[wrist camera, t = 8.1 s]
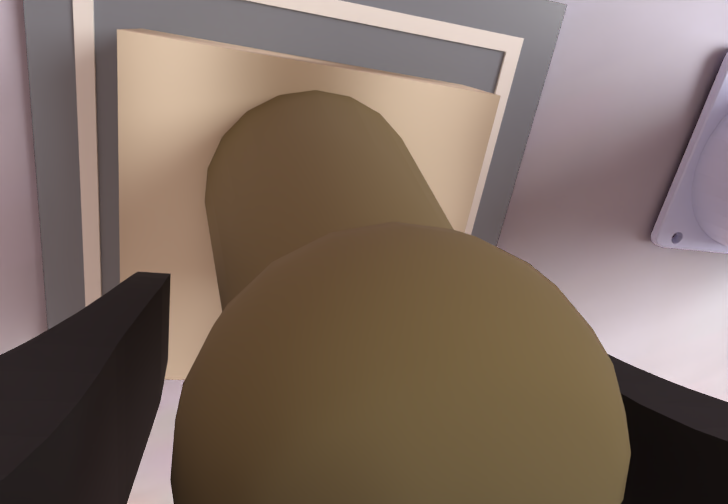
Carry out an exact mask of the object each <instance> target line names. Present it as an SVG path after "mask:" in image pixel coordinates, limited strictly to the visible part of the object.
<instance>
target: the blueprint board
mask: <svg viewBox="0 0 728 504" xmlns="http://www.w3.org/2000/svg"><path fill="white" fill-rule="evenodd" d="M23 7H24V20H25V34H26V47H27V60H28V73H29V87H30V100H31V113H32V126H33V140H34V153H35V166H36V179H37V193H38V206H39V219H40V233H41V246H42V259H43V272H44V286H45V299H46V312H47V325H48V330H49V329H50V328H52V327H54V326H55V325H57V324H59V323H60V322H62V321H64V320H65V319H67V318H69V317H71V316H72V315H74V314H76V313H77V312H79V311H80V310H82V309H83V308H85V307H86V306H88V305H89V304H91V303H92V302H94V301H95V300H97V299H98V298H100V297H101V296H103V295H104V294H106V293H107V292H109V291H110V290H111V289H113V288H114V287H116V286H117V285H119V284H120V242H119V160H118V77H117V29H141V28H142V29H148V30H154V31H159V32H165V33H171V34H176V35H182V36H188V37H194V38H199V39H205V40H211V41H216V42H222V43H228V44H233V45H239V46H245V47H251V48H256V49H262V50H268V51H273V52H279V53H285V54H290V55H296V56H302V57H308V58H313V59H319V60H325V61H330V62H336V63H342V64H348V65H353V66H359V67H365V68H370V69H376V70H382V71H387V72H393V73H399V74H405V75H410V76H416V77H422V78H427V79H433V80H439V81H444V82H450V83H456V84H462V85H465V86H468V87H472V88H475V89H479V90H482V91H486V92H489V93H493V94H496V95H500V96H501V97H500V100H499V104H498V108H497V112H496V115H495V119H494V123H493V127H492V131H491V134H490V138H489V142H488V146H487V150H486V153H485V157H484V161H483V165H482V168H481V172H480V176H479V180H478V184H477V187H476V191H475V195H474V199H473V202H472V206H471V210H470V214H469V218H468V221H467V225H466V229H465V233H466V234H470V235H473V236H476V237H478V238H480V239H482V240H484V241H486V242H488V243H490V244H492V245H494V246H497V243H498V239H499V236H500V232H501V229H502V225H503V222H504V219H505V215H506V212H507V208H508V205H509V202H510V198H511V195H512V191H513V188H514V185H515V181H516V178H517V174H518V171H519V168H520V164H521V161H522V157H523V154H524V150H525V147H526V144H527V140H528V137H529V133H530V130H531V127H532V123H533V120H534V116H535V113H536V110H537V106H538V103H539V99H540V96H541V92H542V89H543V86H544V82H545V79H546V75H547V72H548V69H549V65H550V62H551V58H552V55H553V52H554V48H555V45H556V41H557V38H558V34H559V31H560V28H561V24H562V21H563V17H564V14H565V11H566V7H567V5H566V4H562V3H558V2H553V1H549V0H23Z"/></svg>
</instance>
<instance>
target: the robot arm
mask: <svg viewBox="0 0 728 504" xmlns="http://www.w3.org/2000/svg"><path fill="white" fill-rule="evenodd" d="M674 234H675V236H674V237H673V238H672V236H673V235H674ZM651 241H652V242H653V243H654V244H656V245H657V246H660V247H664V248H674V249H684V250H694V251H704V252H715V253H725V254H728V52H727V54H726V55H725V57H724V59H723V62H722V64H721V67H720V69H719V71H718V74H717V76H716V79H715V81H714V84H713V86H712V88H711V91H710V93H709V96H708V98H707V100H706V103H705V105H704V108H703V110H702V113H701V115H700V117H699V120H698V122H697V125H696V127H695V129H694V132H693V134H692V137H691V139H690V141H689V144H688V146H687V149H686V151H685V154H684V156H683V158H682V161H681V163H680V166H679V168H678V170H677V173H676V175H675V178H674V180H673V182H672V185H671V187H670V190H669V192H668V195H667V197H666V199H665V202H664V204H663V207H662V209H661V211H660V214H659V216H658V219H657V221H656V223H655V226H654V228H653V231H652V233H651ZM170 278H171V274H169V273H153V272H136V273H134V274H133V275H131V276H130V277H128V278H127V279H126V280H124V281H123V282H121V283H120V284H119V285H117V286H116V287H114V288H113V289H111V290H110V291H109V292H107V293H106V294H104V295H103V296H101V297H100V298H98V299H97V300H95V301H94V302H92V303H91V304H89V305H88V306H86V307H85V308H83V309H82V310H80V311H79V312H77V313H76V314H74V315H72V316H71V317H69V318H67V319H65V320H64V321H62V322H60V323H59V324H57V325H55V326H54V327H52V328H50V329H49V330H47V331H45V332H44V333H42V334H40V335H38V336H37V337H35V338H33V339H31V340H29V341H27V342H26V343H24V344H22V345H20V346H18V347H16V348H14V349H12V350H10V351H8V352H6V353H4V354H1V355H0V504H127V501H128V498H129V495H130V492H131V489H132V486H133V483H134V480H135V477H136V474H137V471H138V468H139V465H140V462H141V459H142V456H143V453H144V450H145V447H146V444H147V441H148V438H149V435H150V432H151V429H152V426H153V423H154V419H155V416H156V413H157V410H158V407H159V404H160V400H161V395H162V390H163V384H164V379H165V374H166V368H167V363H168V345H169V312H170ZM608 356H609V358H610V359H611V361H612V363H613V366H614V370H615V373H616V377H617V381H618V385H619V389H620V393H621V397H622V401H623V404H624V408H625V412H626V420H627V427H628V434H629V442H630V449H631V456H630V462H629V468H628V474H627V480H626V486H625V492H624V498H623V501H622V502H621V504H728V402H726V401H723V400H720V399H717V398H714V397H711V396H708V395H705V394H702V393H700V392H697V391H694V390H691V389H688V388H686V387H683V386H680V385H678V384H675V383H672V382H670V381H667V380H665V379H663V378H660V377H658V376H655V375H653V374H651V373H648V372H646V371H644V370H641V369H639V368H636V367H634V366H632V365H630V364H627V363H625V362H623V361H621V360H619V359H617V358H615V357H613V356H611V355H608Z"/></svg>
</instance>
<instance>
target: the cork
mask: <svg viewBox="0 0 728 504" xmlns="http://www.w3.org/2000/svg"><path fill="white" fill-rule="evenodd" d="M205 207H206V214H207V220H208V226H209V233H210V239H211V245H212V251H213V258H214V264H215V270H216V276H217V283H218V289H219V295H220V301H221V308H222V313H221V315H220V316H219V317H218V319H217V320H216V322H215V323H214V325H213V326H212V328H211V330H210V332H209V334H208V336H207V338H206V340H205V342H204V344H203V346H202V348H201V350H200V352H199V354H198V356H197V357H196V359H195V361H194V363H193V365H192V367H191V369H190V371H189V373H188V375H187V377H186V379H185V381H184V383H183V387H182V391H181V396H180V401H179V405H178V410H177V414H176V419H175V429H174V442H173V454H172V467H171V479H170V480H171V487H172V494H173V501H174V504H621V502H622V501H623V498H624V492H625V486H626V480H627V474H628V468H629V462H630V456H631V449H630V442H629V434H628V427H627V420H626V412H625V408H624V404H623V401H622V397H621V393H620V389H619V385H618V381H617V377H616V373H615V370H614V366H613V363H612V361H611V359H610V358H609V356H608V354H607V353H606V351H605V349H604V348H603V346H602V344H601V343H600V341H599V339H598V337H597V336H596V334H595V332H594V331H593V329H592V328H591V326H590V325H589V324H588V323H587V322H586V320H585V319H584V318H583V317H582V316H581V315H580V313H579V312H578V311H577V310H576V309H575V307H574V306H573V305H572V304H571V303H570V301H569V300H568V299H567V298H566V297H565V295H564V294H563V293H562V292H561V291H560V289H559V288H558V287H557V286H556V285H555V284H553V283H552V282H551V281H550V280H549V279H547V278H546V277H545V276H544V275H542V274H541V273H540V272H539V271H538V270H536V269H535V268H534V267H533V266H532V265H530V264H529V263H527V262H525V261H523V260H521V259H519V258H517V257H515V256H513V255H511V254H509V253H507V252H505V251H504V250H502V249H500V248H498V247H496V246H494V245H492V244H490V243H488V242H486V241H484V240H482V239H480V238H478V237H476V236H473V235H470V234H466V233H463V232H460V231H456V230H454V229H453V227H452V226H451V224H450V222H449V220H448V219H447V217H446V215H445V213H444V212H443V210H442V208H441V206H440V205H439V203H438V201H437V199H436V198H435V196H434V194H433V192H432V191H431V189H430V187H429V185H428V184H427V182H426V180H425V178H424V177H423V175H422V173H421V171H420V170H419V168H418V166H417V164H416V163H415V161H414V159H413V157H412V156H411V154H410V152H409V150H408V148H407V147H406V145H405V143H404V141H403V140H402V138H401V137H400V136H399V135H398V134H397V132H396V131H395V130H394V129H393V128H392V127H391V126H390V124H389V123H388V122H387V121H386V120H385V119H384V118H383V116H382V115H381V114H380V113H378V112H376V111H375V110H373V109H371V108H369V107H368V106H366V105H364V104H362V103H361V102H359V101H357V100H355V99H354V98H352V97H350V96H344V95H339V94H334V93H329V92H324V91H319V90H311V91H304V92H297V93H290V94H282V95H278V96H276V97H274V98H272V99H270V100H268V101H266V102H264V103H262V104H260V105H259V106H257V107H255V108H253V109H251V110H249V111H247V112H246V113H245V114H244V115H243V116H242V117H241V118H240V119H239V120H238V121H237V122H236V123H235V124H234V125H233V126H232V127H231V128H230V129H229V130H228V131H227V132H226V133H225V134H224V136H223V137H222V138H221V140H220V143H219V145H218V147H217V149H216V151H215V153H214V156H213V158H212V160H211V162H210V164H209V166H208V170H207V181H206V192H205Z"/></svg>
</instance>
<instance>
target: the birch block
mask: <svg viewBox="0 0 728 504" xmlns="http://www.w3.org/2000/svg"><path fill="white" fill-rule="evenodd" d="M117 77H118V160H119V242H120V283H121V282H123V281H124V280H126V279H127V278H128V277H130V276H131V275H133V274H134V273H136V272H153V273H169V274H171V278H170V312H169V345H168V363H167V368H166V374H165V379H166V380H185V379H186V377H187V375H188V373H189V371H190V369H191V367H192V365H193V363H194V361H195V359H196V357H197V356H198V354H199V352H200V350H201V348H202V346H203V344H204V342H205V340H206V338H207V336H208V334H209V332H210V330H211V328H212V326H213V325H214V323H215V322H216V320H217V319H218V317H219V316H220V315H221V313H222V308H221V301H220V295H219V289H218V283H217V276H216V270H215V264H214V258H213V251H212V245H211V239H210V233H209V226H208V220H207V214H206V207H205V192H206V181H207V170H208V166H209V164H210V162H211V160H212V158H213V156H214V153H215V151H216V149H217V147H218V145H219V143H220V140H221V138H222V137H223V136H224V134H225V133H226V132H227V131H228V130H229V129H230V128H231V127H232V126H233V125H234V124H235V123H236V122H237V121H238V120H239V119H240V118H241V117H242V116H243V115H244V114H245V113H246V112H247V111H249V110H251V109H253V108H255V107H257V106H259V105H260V104H262V103H264V102H266V101H268V100H270V99H272V98H274V97H276V96H278V95H282V94H290V93H297V92H304V91H311V90H319V91H324V92H329V93H334V94H339V95H344V96H350V97H352V98H354V99H355V100H357V101H359V102H361V103H362V104H364V105H366V106H368V107H369V108H371V109H373V110H375V111H376V112H378V113H380V114H381V115H382V116H383V118H384V119H385V120H386V121H387V122H388V123H389V124H390V126H391V127H392V128H393V129H394V130H395V131H396V132H397V134H398V135H399V136H400V137H401V138H402V140H403V141H404V143H405V145H406V147H407V148H408V150H409V152H410V154H411V156H412V157H413V159H414V161H415V163H416V164H417V166H418V168H419V170H420V171H421V173H422V175H423V177H424V178H425V180H426V182H427V184H428V185H429V187H430V189H431V191H432V192H433V194H434V196H435V198H436V199H437V201H438V203H439V205H440V206H441V208H442V210H443V212H444V213H445V215H446V217H447V219H448V220H449V222H450V224H451V226H452V227H453V229H454V230H456V231H460V232H463V233H465V229H466V225H467V221H468V218H469V214H470V210H471V206H472V202H473V199H474V195H475V191H476V187H477V184H478V180H479V176H480V172H481V168H482V165H483V161H484V157H485V153H486V150H487V146H488V142H489V138H490V134H491V131H492V127H493V123H494V119H495V115H496V112H497V108H498V104H499V100H500V97H501V96H500V95H496V94H493V93H489V92H486V91H482V90H479V89H475V88H472V87H468V86H465V85H462V84H456V83H450V82H444V81H439V80H433V79H427V78H422V77H416V76H410V75H405V74H399V73H393V72H387V71H382V70H376V69H370V68H365V67H359V66H353V65H348V64H342V63H336V62H330V61H325V60H319V59H313V58H308V57H302V56H296V55H290V54H285V53H279V52H273V51H268V50H262V49H256V48H251V47H245V46H239V45H233V44H228V43H222V42H216V41H211V40H205V39H199V38H194V37H188V36H182V35H176V34H171V33H165V32H159V31H154V30H148V29H142V28H141V29H117Z"/></svg>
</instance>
